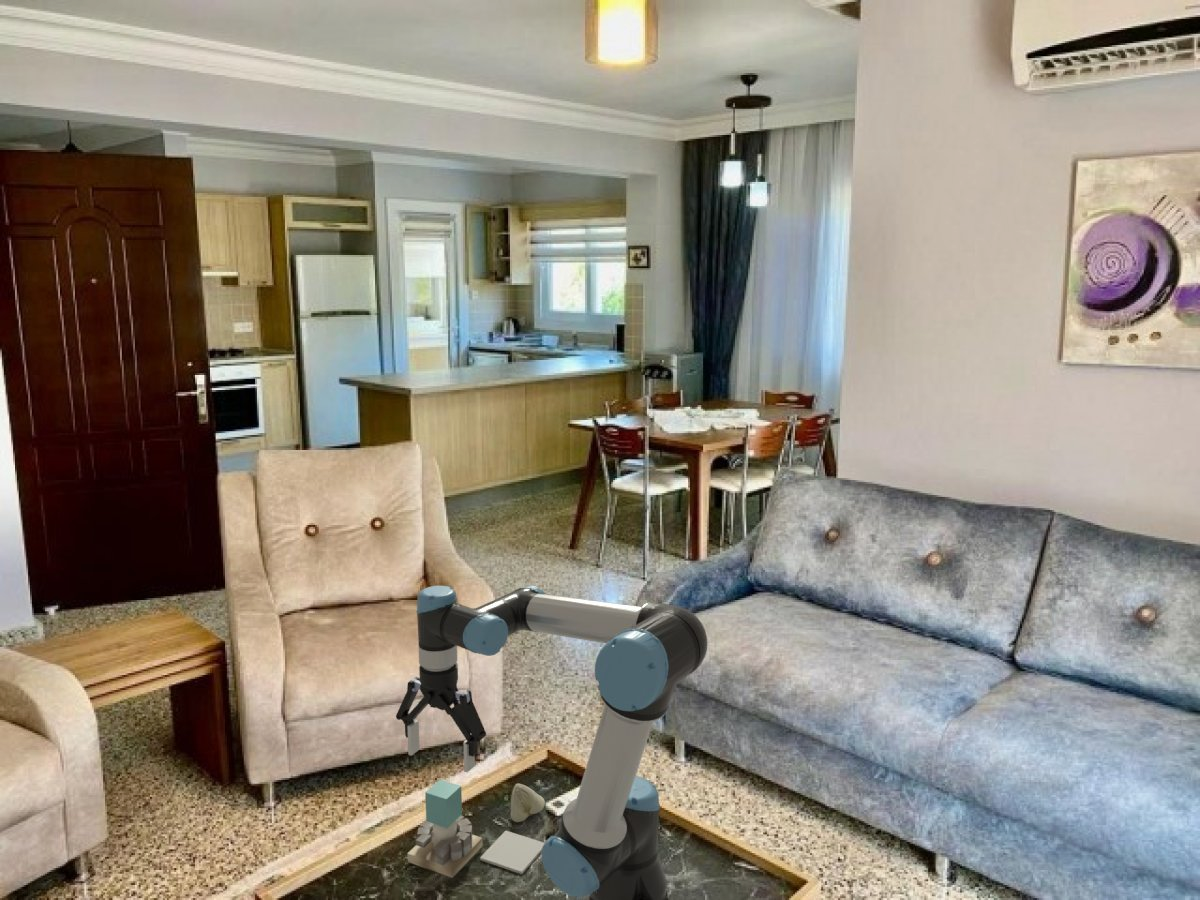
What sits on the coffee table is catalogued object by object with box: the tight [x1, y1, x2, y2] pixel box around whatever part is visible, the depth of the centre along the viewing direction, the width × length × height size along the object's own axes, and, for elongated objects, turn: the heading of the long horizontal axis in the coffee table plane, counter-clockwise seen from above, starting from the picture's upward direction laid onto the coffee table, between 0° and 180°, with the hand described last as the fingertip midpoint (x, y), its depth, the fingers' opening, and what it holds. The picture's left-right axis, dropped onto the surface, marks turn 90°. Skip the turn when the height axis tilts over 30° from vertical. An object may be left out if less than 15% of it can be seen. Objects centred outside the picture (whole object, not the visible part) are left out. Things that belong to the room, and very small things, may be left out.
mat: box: [479, 830, 545, 875], centre depth 190 cm, size 10×10×1 cm
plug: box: [424, 779, 463, 849], centre depth 188 cm, size 7×5×13 cm
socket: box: [406, 815, 483, 879], centre depth 189 cm, size 11×11×6 cm
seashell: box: [510, 783, 546, 823], centre depth 203 cm, size 8×8×8 cm
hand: (441, 760), depth 185 cm, fingers open, 13 cm apart
